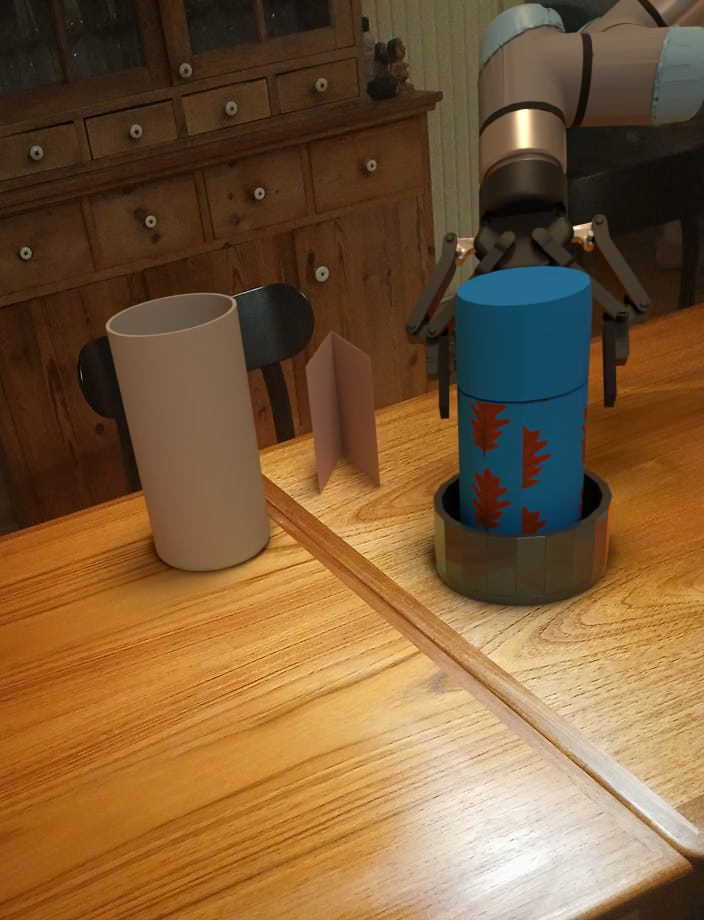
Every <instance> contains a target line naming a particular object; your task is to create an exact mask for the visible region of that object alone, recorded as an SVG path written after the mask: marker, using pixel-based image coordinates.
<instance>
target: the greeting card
mask: <svg viewBox="0 0 704 920" xmlns="http://www.w3.org/2000/svg"><path fill="white" fill-rule="evenodd" d="M372 372H373V371H372V359H371V357H370V356H369V355H368V354H366V353H364V352H363V351H361V350H360V349H359V348H357V347H356V346H354V345H353V344H352V343H350V342H349V341H347V340H345V339H344V338H342V337H341V336H339V335H338V334H337V333H335V332H334V331H333V330H330V331H329V333H328V334H327V336H326V337H325V338H324V340H323V341H322V342H321V344H320V345H319V347H318V348H317V350H316V351H315V352H314V354H313V356H312V357H311V358H310V359H309V361H308V363H307V364H306V366H305V376H306V385H307V394H308V402H309V403H308V404H309V411H310V418H311V419H310V420H311V429H312V435H313V436H312V437H313V447H314V455H315V456H314V457H315V462H316V471H317V480H318V481H317V482H318V488H319V489H318V490H319V495H321V494H322V492H323V491H324V489H325V487H326V486H327V485H326V484H327V483H328V481H329V479H330V477H331V475H332V473H333V471H334V470H335V468H336V466H337V464H338V462H339V460H340V458H341V456H342V454H343V453H344V454H345V455H346V456H347V457H348V458H349V459H350V460H351V461H352V462H353V463H354V464H355V465H356V466H357V467H359V468H360V469H361V470H362V471H363V473H365V474H366V475H367V476H368V477H369V478H370V479H372V480H373V481H374V482H375V483H376V484H377V485H378V486H379V487H381V476H380V475H381V474H380V462H379V461H380V460H379V451H378V450H379V449H378V438H377V425H376V411H375V410H376V409H375V399H374V398H375V397H374V386H373V385H374V384H373V383H374V382H373V373H372ZM342 452H343V453H342Z"/></svg>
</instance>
